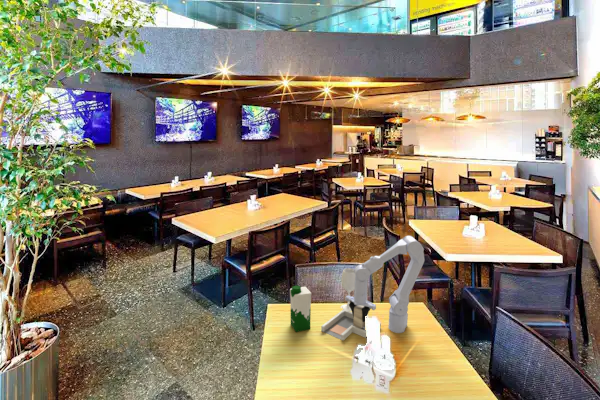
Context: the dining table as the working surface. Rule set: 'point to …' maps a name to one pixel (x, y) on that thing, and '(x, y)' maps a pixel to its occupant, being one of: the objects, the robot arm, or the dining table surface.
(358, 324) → the peg
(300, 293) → the milk carton
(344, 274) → the wineglass
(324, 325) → the walled channel course
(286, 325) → the dining table surface
